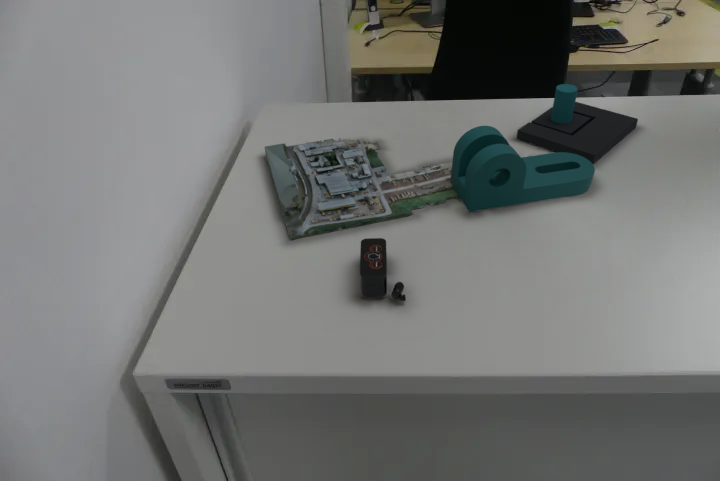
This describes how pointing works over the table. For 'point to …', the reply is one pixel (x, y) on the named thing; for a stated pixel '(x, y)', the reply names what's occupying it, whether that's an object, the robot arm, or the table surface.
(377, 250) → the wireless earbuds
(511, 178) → the bracket
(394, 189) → the model
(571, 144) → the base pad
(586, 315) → the table surface
